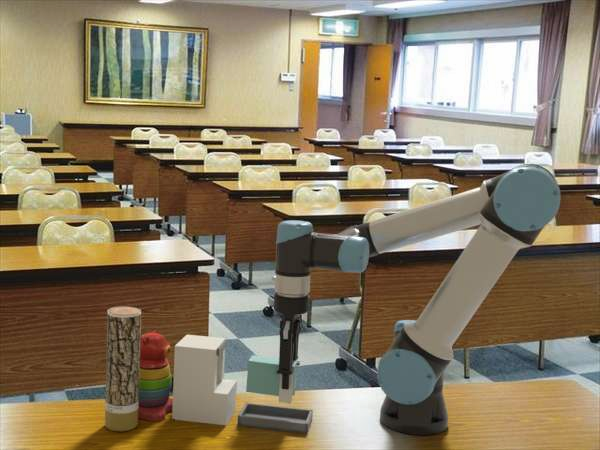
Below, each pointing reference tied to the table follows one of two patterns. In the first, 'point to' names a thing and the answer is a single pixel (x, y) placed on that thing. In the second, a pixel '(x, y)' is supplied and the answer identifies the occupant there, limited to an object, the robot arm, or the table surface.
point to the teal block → (265, 375)
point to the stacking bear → (154, 378)
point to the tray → (275, 418)
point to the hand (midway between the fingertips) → (286, 398)
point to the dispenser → (202, 381)
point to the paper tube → (122, 368)
